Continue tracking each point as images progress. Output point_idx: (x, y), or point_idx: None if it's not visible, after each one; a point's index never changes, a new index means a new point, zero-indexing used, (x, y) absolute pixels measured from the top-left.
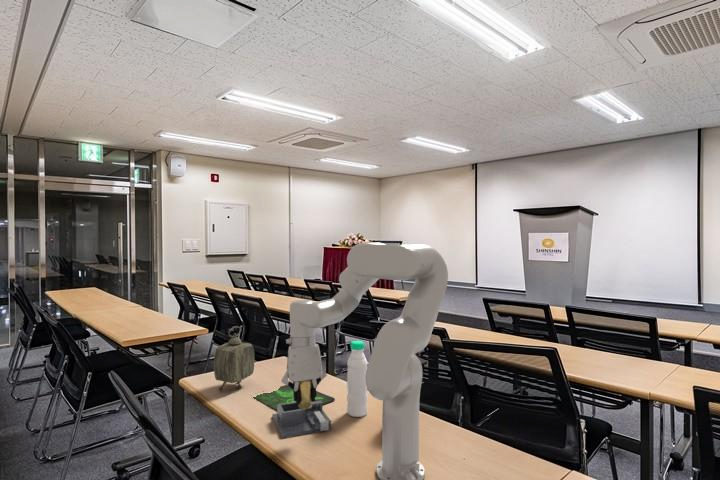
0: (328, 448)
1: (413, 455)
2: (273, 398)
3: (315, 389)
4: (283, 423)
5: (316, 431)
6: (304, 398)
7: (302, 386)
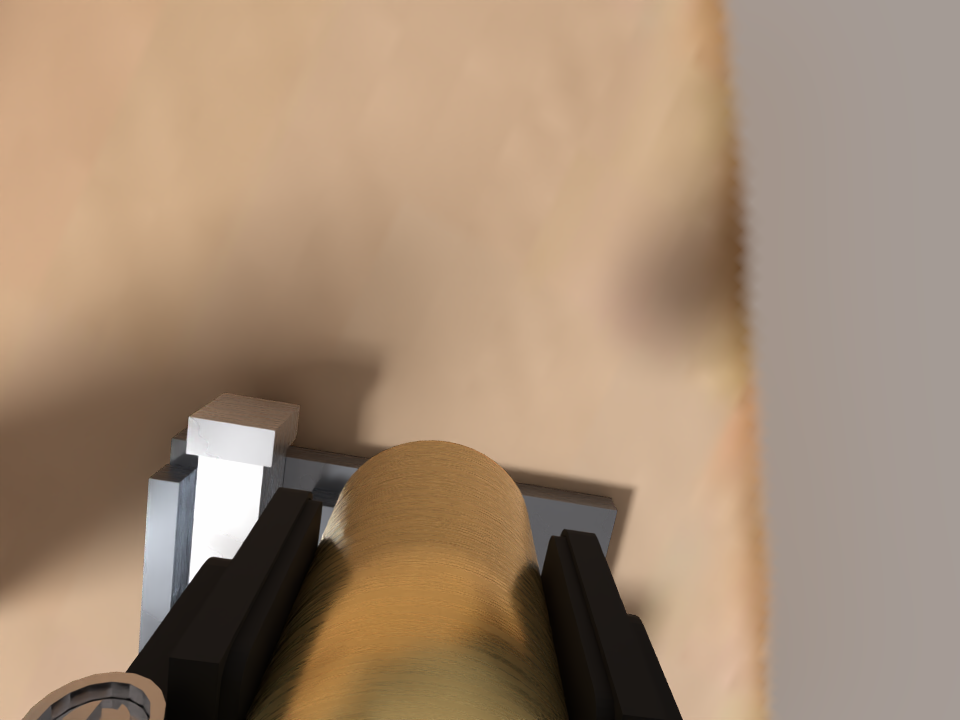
0: (347, 140)
1: None
2: None
3: (145, 671)
4: None
5: (320, 453)
6: (484, 546)
7: None
